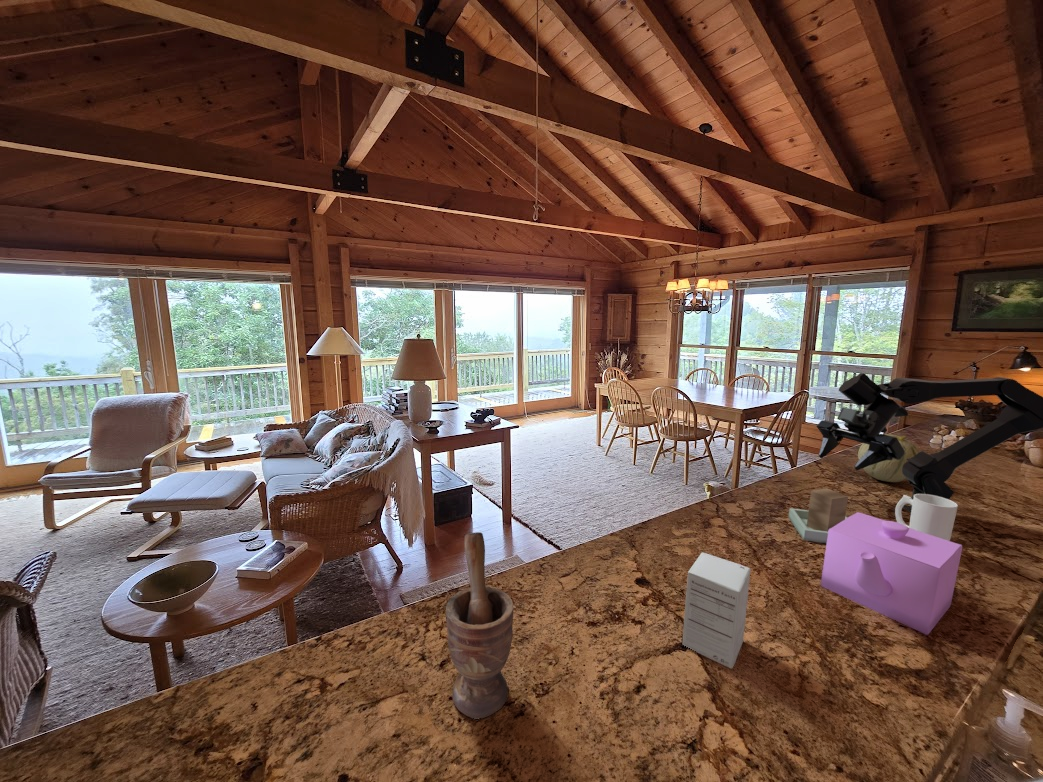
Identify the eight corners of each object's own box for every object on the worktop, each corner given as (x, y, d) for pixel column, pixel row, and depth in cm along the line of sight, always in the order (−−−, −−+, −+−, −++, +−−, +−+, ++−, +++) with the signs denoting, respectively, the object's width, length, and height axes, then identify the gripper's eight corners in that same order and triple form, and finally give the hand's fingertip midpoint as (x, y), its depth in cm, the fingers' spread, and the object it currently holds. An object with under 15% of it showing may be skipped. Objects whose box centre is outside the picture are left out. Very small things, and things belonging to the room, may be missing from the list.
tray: (788, 517, 108) (789, 508, 108) (843, 524, 105) (844, 514, 104) (803, 540, 97) (805, 530, 97) (865, 548, 94) (867, 538, 93)
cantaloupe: (854, 468, 144) (860, 425, 141) (912, 478, 135) (920, 432, 132) (856, 482, 132) (863, 435, 129) (920, 493, 123) (929, 443, 121)
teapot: (802, 599, 77) (812, 527, 74) (858, 557, 90) (868, 495, 88) (912, 655, 64) (928, 570, 62) (958, 596, 78) (972, 525, 76)
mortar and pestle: (430, 668, 61) (426, 539, 58) (484, 644, 66) (483, 523, 62) (464, 735, 51) (461, 585, 48) (525, 701, 56) (526, 562, 52)
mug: (955, 558, 90) (966, 505, 88) (934, 563, 88) (944, 509, 86) (901, 535, 100) (909, 486, 98) (881, 539, 98) (889, 489, 96)
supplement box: (695, 620, 71) (701, 550, 69) (744, 641, 67) (752, 567, 64) (680, 645, 66) (686, 570, 63) (732, 671, 61) (740, 591, 59)
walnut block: (806, 526, 102) (811, 490, 101) (822, 523, 104) (827, 488, 102) (826, 536, 98) (831, 499, 96) (842, 533, 99) (848, 496, 98)
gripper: (826, 390, 116) (789, 433, 115) (904, 404, 98) (862, 454, 97) (843, 417, 119) (808, 458, 118) (922, 435, 102) (881, 483, 101)
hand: (837, 462), depth 108 cm, fingers open, 9 cm apart
